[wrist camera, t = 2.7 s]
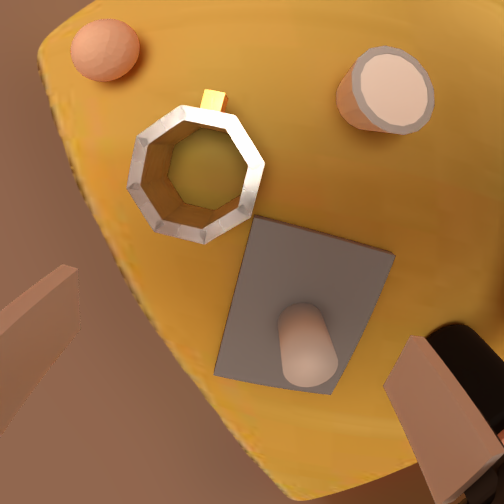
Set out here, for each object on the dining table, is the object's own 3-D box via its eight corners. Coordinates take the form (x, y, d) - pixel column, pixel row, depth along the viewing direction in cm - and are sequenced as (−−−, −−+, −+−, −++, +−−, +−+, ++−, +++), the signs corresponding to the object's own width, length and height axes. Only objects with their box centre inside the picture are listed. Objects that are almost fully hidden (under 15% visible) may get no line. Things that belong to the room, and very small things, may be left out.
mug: (175, 95, 24) (150, 79, 18) (274, 116, 25) (280, 104, 18) (151, 206, 28) (121, 223, 21) (245, 228, 28) (241, 253, 22)
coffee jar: (396, 352, 33) (460, 468, 16) (465, 304, 31) (554, 392, 14) (416, 397, 35) (464, 494, 18) (476, 356, 33) (540, 438, 16)
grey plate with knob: (254, 214, 28) (253, 239, 20) (390, 251, 29) (429, 285, 21) (214, 368, 33) (205, 421, 26) (329, 388, 34) (342, 438, 26)
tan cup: (389, 66, 23) (424, 47, 16) (403, 134, 25) (442, 133, 18) (321, 69, 23) (341, 45, 17) (336, 141, 26) (362, 138, 19)
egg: (106, 33, 22) (68, 8, 15) (157, 35, 22) (127, 4, 15) (89, 85, 24) (45, 72, 17) (140, 89, 24) (103, 73, 17)
